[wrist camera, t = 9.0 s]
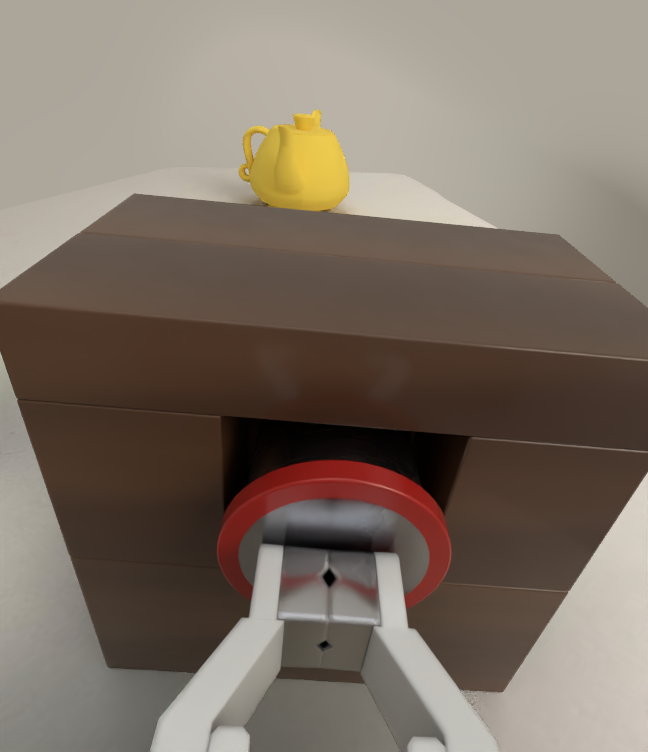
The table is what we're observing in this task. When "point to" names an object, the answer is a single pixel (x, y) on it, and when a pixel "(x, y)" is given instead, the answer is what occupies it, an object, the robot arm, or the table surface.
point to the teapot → (297, 165)
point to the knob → (335, 503)
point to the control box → (324, 407)
